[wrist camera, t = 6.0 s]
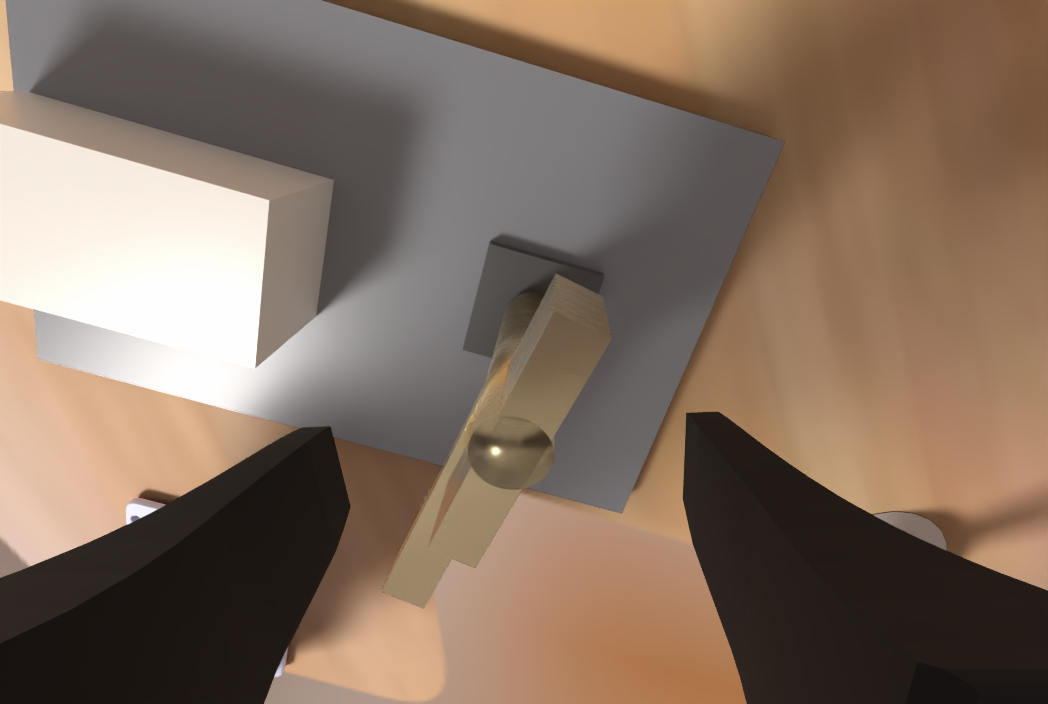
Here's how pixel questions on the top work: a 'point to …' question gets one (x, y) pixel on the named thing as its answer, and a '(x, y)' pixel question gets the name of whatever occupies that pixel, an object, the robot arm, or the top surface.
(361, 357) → the plate
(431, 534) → the t key
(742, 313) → the top surface
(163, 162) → the cover
